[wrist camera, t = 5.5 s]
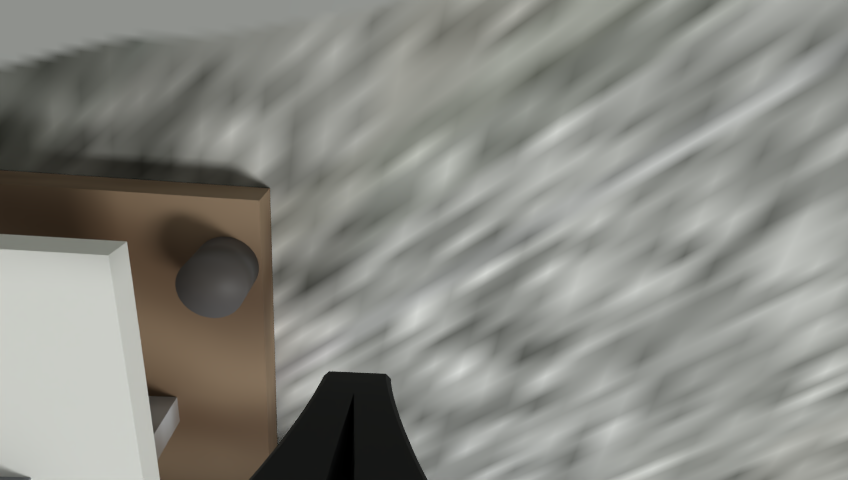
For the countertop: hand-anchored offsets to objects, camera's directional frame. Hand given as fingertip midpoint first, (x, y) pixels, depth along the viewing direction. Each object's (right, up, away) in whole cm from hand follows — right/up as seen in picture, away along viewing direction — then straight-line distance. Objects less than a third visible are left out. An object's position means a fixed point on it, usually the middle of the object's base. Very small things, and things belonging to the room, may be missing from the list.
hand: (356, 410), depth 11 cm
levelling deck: (-13, -4, +6) cm, 15 cm away
